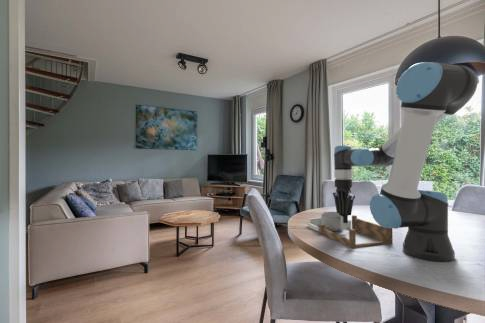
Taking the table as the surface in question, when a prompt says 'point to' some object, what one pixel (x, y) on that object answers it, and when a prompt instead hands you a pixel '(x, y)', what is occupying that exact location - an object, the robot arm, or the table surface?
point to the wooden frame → (361, 227)
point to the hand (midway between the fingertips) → (343, 229)
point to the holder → (316, 222)
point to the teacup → (331, 221)
